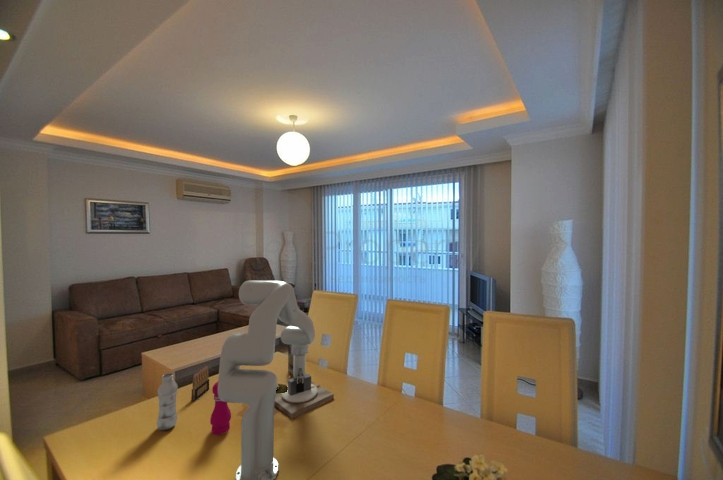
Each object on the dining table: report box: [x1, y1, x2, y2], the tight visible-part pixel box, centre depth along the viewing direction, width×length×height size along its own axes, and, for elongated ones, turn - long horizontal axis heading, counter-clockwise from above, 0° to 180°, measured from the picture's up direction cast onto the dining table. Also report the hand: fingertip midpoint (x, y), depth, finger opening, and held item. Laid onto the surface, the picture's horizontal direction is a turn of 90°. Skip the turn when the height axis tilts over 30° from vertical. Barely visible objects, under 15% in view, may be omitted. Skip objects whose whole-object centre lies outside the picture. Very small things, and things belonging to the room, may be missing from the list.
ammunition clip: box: [190, 365, 210, 402], centre depth 138 cm, size 11×2×12 cm, turn 175°
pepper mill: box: [209, 381, 232, 436], centre depth 113 cm, size 7×7×20 cm
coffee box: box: [287, 344, 294, 376], centre depth 162 cm, size 9×6×16 cm
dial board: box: [274, 380, 334, 419], centre depth 135 cm, size 22×22×2 cm
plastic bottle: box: [156, 372, 179, 431], centre depth 114 cm, size 6×7×20 cm
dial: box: [282, 373, 317, 403], centre depth 135 cm, size 16×16×7 cm
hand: (299, 386), depth 135 cm, fingers open, 9 cm apart
